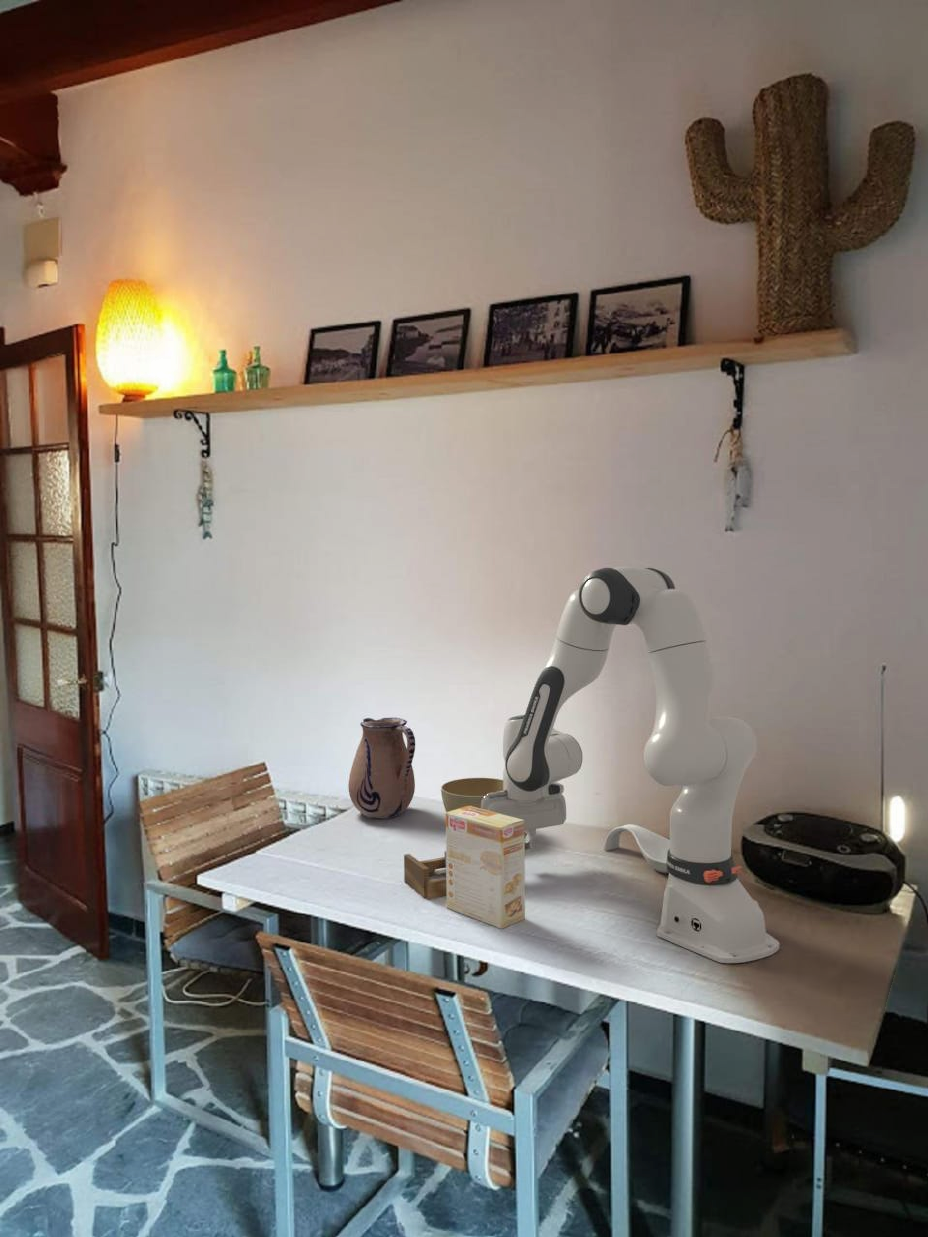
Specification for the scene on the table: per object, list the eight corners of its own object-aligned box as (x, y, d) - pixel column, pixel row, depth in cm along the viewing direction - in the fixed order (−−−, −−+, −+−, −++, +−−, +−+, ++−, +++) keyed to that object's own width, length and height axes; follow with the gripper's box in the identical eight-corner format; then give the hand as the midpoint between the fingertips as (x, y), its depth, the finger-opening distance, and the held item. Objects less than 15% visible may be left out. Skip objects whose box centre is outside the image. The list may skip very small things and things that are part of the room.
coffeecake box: (526, 919, 181) (526, 819, 179) (501, 930, 176) (500, 827, 174) (470, 898, 192) (469, 804, 190) (445, 908, 187) (444, 811, 185)
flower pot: (520, 826, 239) (520, 778, 238) (507, 849, 221) (507, 798, 220) (451, 821, 243) (450, 775, 242) (433, 844, 225) (432, 794, 224)
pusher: (449, 873, 205) (449, 850, 204) (468, 886, 197) (468, 863, 196) (427, 877, 202) (426, 854, 202) (445, 891, 194) (444, 867, 194)
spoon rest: (709, 871, 207) (709, 839, 206) (675, 884, 199) (675, 851, 198) (625, 844, 225) (625, 815, 224) (591, 855, 217) (592, 825, 217)
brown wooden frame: (487, 864, 211) (487, 838, 210) (515, 882, 200) (515, 855, 199) (402, 880, 202) (401, 853, 201) (426, 900, 191) (425, 871, 190)
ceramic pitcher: (378, 801, 262) (377, 712, 260) (439, 813, 250) (438, 720, 248) (335, 817, 248) (333, 722, 246) (397, 830, 236) (396, 732, 234)
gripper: (488, 797, 199) (489, 861, 200) (570, 785, 208) (570, 846, 209) (474, 790, 204) (475, 853, 205) (554, 778, 214) (554, 838, 215)
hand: (523, 849), depth 207 cm, fingers closed
